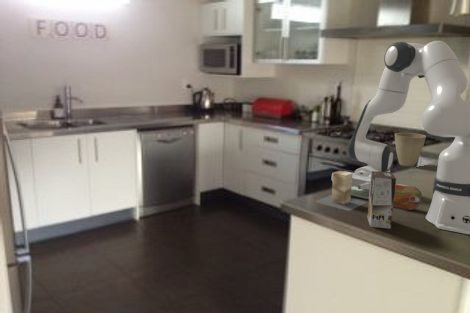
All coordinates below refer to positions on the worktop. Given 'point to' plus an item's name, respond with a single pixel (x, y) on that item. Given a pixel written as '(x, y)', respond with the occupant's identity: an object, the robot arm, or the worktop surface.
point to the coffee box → (381, 199)
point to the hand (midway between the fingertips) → (348, 184)
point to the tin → (407, 197)
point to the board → (360, 192)
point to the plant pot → (409, 147)
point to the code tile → (348, 206)
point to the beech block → (341, 187)
